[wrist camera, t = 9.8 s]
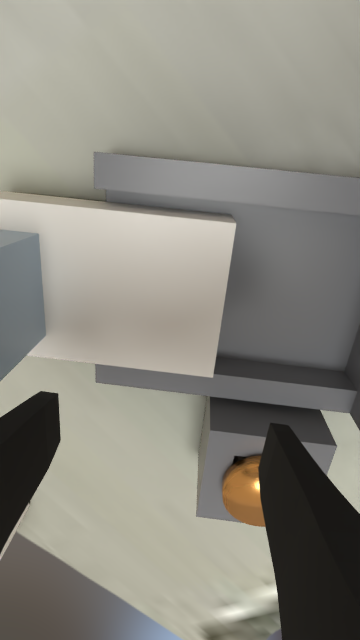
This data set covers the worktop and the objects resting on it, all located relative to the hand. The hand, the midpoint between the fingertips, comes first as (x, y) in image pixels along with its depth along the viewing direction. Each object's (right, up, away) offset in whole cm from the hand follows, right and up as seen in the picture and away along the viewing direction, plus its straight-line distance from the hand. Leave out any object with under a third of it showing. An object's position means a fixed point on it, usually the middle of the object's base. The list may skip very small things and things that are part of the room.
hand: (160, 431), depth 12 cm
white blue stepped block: (-3, +6, +7) cm, 10 cm away
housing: (+4, +3, +10) cm, 11 cm away
